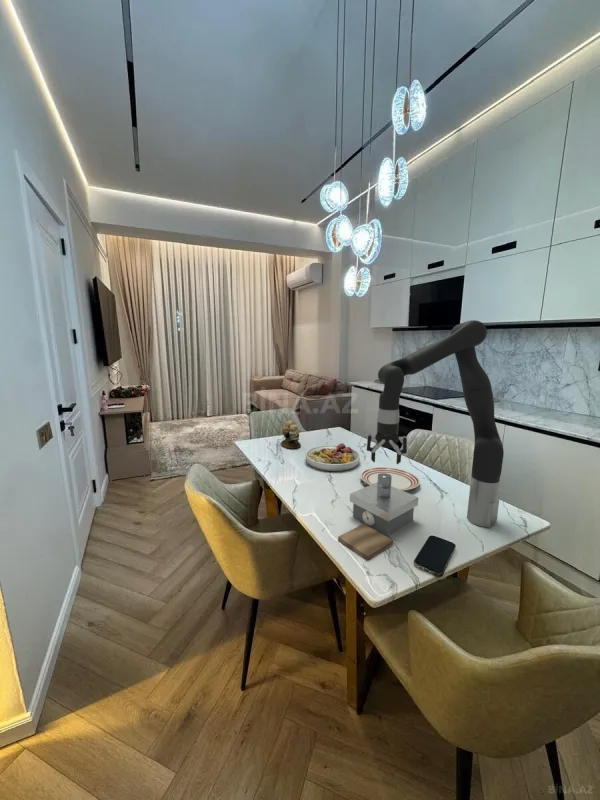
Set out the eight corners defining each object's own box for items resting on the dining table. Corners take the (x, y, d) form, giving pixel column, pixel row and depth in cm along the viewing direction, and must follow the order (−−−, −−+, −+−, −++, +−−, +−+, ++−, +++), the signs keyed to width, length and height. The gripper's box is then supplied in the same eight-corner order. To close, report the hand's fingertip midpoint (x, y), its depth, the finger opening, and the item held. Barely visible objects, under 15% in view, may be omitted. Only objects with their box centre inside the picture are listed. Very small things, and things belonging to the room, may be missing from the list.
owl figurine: (305, 448, 207) (305, 422, 203) (288, 451, 201) (288, 424, 198) (293, 440, 222) (293, 415, 219) (277, 443, 217) (276, 418, 214)
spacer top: (393, 486, 124) (394, 476, 123) (385, 490, 121) (385, 479, 120) (383, 481, 128) (383, 472, 127) (374, 485, 125) (375, 475, 124)
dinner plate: (370, 467, 177) (371, 462, 176) (424, 479, 163) (425, 472, 162) (351, 487, 153) (351, 481, 153) (411, 502, 140) (412, 495, 139)
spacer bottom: (393, 496, 125) (393, 486, 124) (385, 500, 122) (385, 490, 121) (382, 491, 129) (383, 481, 128) (374, 495, 126) (374, 485, 125)
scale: (412, 520, 126) (414, 500, 124) (384, 536, 115) (386, 515, 114) (379, 503, 138) (380, 486, 137) (351, 517, 128) (351, 498, 126)
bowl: (347, 478, 164) (347, 463, 162) (295, 466, 179) (295, 452, 177) (367, 459, 189) (367, 446, 188) (320, 450, 204) (320, 438, 203)
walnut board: (393, 544, 111) (393, 540, 111) (367, 560, 103) (367, 556, 103) (363, 527, 121) (363, 523, 121) (338, 540, 113) (338, 536, 113)
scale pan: (417, 505, 124) (418, 497, 124) (388, 521, 114) (388, 513, 113) (379, 488, 138) (379, 481, 138) (349, 501, 127) (349, 493, 127)
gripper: (407, 419, 122) (404, 460, 125) (368, 416, 125) (366, 457, 128) (409, 424, 115) (406, 468, 118) (367, 421, 118) (365, 464, 121)
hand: (385, 462), depth 123 cm, fingers open, 8 cm apart
